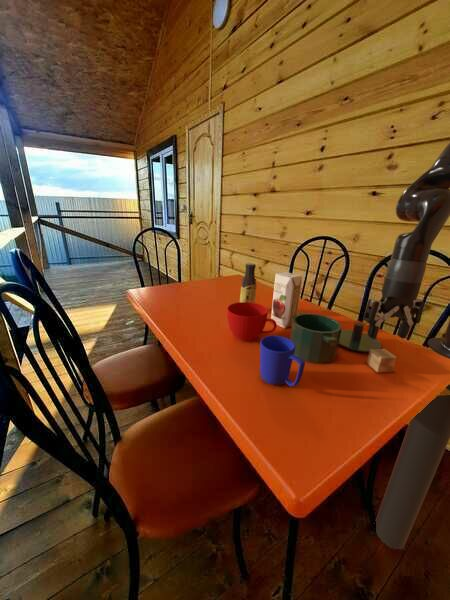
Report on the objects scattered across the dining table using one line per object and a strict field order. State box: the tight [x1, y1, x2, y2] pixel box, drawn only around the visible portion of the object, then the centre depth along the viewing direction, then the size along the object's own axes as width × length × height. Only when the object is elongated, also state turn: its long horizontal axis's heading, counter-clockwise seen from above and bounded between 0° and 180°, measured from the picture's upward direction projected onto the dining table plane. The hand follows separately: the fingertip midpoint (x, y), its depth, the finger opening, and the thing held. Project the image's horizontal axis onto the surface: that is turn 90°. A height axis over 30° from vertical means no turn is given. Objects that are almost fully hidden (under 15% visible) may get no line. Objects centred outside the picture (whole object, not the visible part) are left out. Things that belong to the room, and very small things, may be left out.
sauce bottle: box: [239, 262, 257, 303], centre depth 104 cm, size 6×6×20 cm
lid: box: [338, 321, 382, 353], centre depth 82 cm, size 15×15×7 cm
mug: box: [259, 335, 306, 387], centre depth 61 cm, size 8×12×10 cm
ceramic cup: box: [226, 301, 278, 342], centre depth 82 cm, size 13×17×10 cm
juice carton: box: [270, 271, 303, 329], centre depth 93 cm, size 8×9×19 cm
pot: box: [289, 311, 343, 364], centre depth 76 cm, size 14×19×10 cm
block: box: [366, 348, 398, 374], centre depth 69 cm, size 4×4×4 cm
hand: (386, 337), depth 67 cm, fingers open, 8 cm apart
